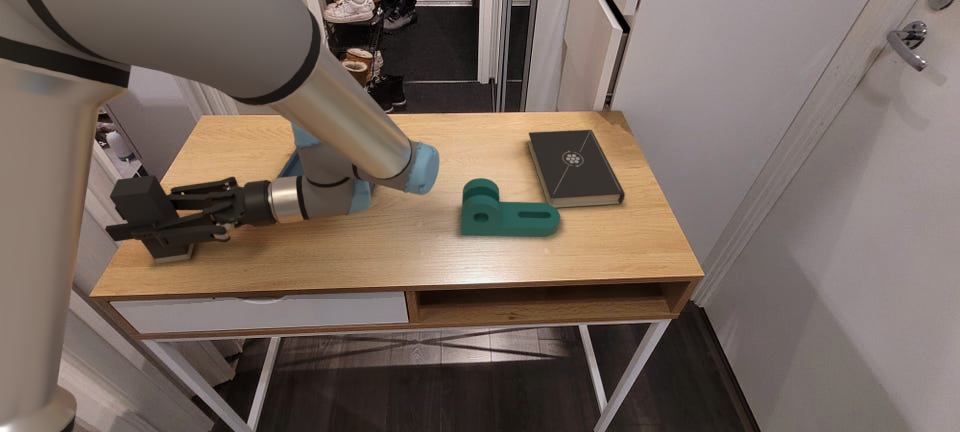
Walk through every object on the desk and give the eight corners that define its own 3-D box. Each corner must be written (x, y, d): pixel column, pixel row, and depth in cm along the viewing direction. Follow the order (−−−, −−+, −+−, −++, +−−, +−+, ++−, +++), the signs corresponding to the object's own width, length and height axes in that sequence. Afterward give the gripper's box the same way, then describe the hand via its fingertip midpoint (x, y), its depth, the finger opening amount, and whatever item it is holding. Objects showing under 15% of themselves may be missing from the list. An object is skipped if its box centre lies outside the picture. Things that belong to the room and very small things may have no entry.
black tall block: (194, 241, 80) (154, 175, 69) (190, 259, 77) (148, 192, 66) (163, 246, 79) (117, 179, 68) (157, 263, 76) (109, 196, 65)
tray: (278, 186, 91) (275, 179, 89) (304, 146, 100) (302, 138, 99) (370, 195, 90) (369, 187, 88) (387, 154, 99) (386, 146, 98)
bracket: (461, 235, 83) (461, 203, 77) (462, 209, 88) (462, 177, 82) (560, 237, 83) (567, 205, 78) (556, 211, 88) (562, 180, 83)
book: (622, 204, 90) (626, 193, 88) (548, 209, 89) (551, 197, 86) (590, 140, 105) (592, 129, 103) (527, 143, 104) (528, 132, 102)
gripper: (277, 255, 72) (110, 281, 68) (283, 186, 84) (141, 204, 79) (263, 221, 67) (81, 247, 62) (271, 152, 79) (119, 170, 74)
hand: (115, 223), depth 71 cm, fingers closed on black tall block, 4 cm apart
